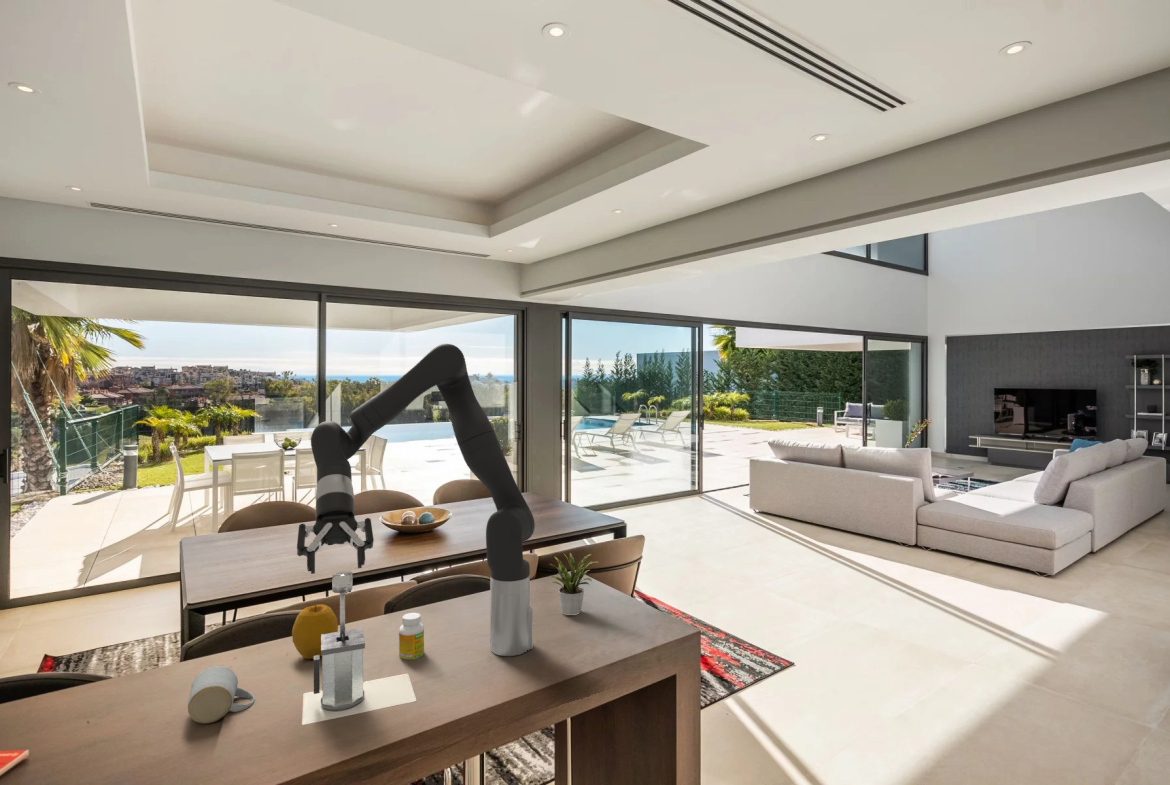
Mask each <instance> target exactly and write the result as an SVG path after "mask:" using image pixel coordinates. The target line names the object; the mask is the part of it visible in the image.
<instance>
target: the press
mask: <svg viewBox="0 0 1170 785" xmlns="http://www.w3.org/2000/svg"><path fill="white" fill-rule="evenodd" d="M364 635H365V634H364V630H363V628H362V627H361V628H355V629H348V630H345V641H340V631H338V632H334V633H328V634H321V656H320V657H321V664H322V665H321V669H322V670H321V672H322V675H321V676H322V678H321V679H322V680H321V683H322V686H321V688H322V689H321V688H320V685H321V684H320V657H319V655H316V656H314V658H313V691H314V694H317V693H320V690H322V698H321V707H322V708H323V709H324V710H327V711H344V710H348V709H351V708H353V707H355V706H357V705H359V704H360V703H361V702H362V701H363V700H364V690H363V682H364V649H366V641H365V636H364Z"/></svg>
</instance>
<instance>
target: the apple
mask: <svg viewBox="0 0 1170 785" xmlns="http://www.w3.org/2000/svg"><path fill="white" fill-rule="evenodd" d="M334 632H339V623H338V618H337V616H336V613H335V612H334V610H333V609H332V607H330V606H328V605H326V604H323V603H321V604H320V603H319V604H315V605H311V606H310V605H309V606H307V607H304V608H303V609H301V611H299V614H298V615H297V616H296V618H295V621H294V623H293V626H292V630H291V636H292V643H293V644H294V647H295V649H296V650H297V652H298V653H299V654H300V656H301V657H302V658H303V659H305V660H311V659H312V660H314V656H316V655H319V658H320V657H322V656H321V634H328V633H334Z"/></svg>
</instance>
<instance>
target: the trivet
mask: <svg viewBox="0 0 1170 785" xmlns="http://www.w3.org/2000/svg"><path fill="white" fill-rule="evenodd" d="M363 690H364V700H363V701H362V702H361V703H360V704H359V705H357V706H355V707H353V708H351V709H348V710H344V711H327V710H324V709H323V708H322V707H321V698H322V689H320V693H317V694H314V690H313V691H309V692H304V693H303V694H302V719H301V725H302V726H305V725H309V724H311V725H312V724H315V723H319V722H325V721H330V720H333V719H339V718H343V717H348V716H352V715H353V716H354V715H358V714H361V713H366V712H367V713H368V712H372V711H376V710H381V709H386V708H391V707H395V706H401V705H405V704H410V703H414V702H417V698H416V693H415V691H414V688H413V685H412V682H411V679H410V676H409V673H408V672H407V673H403V674H398V675H391V676H388V677H381V678H377V679H371V680H366V681H363Z"/></svg>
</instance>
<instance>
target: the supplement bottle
mask: <svg viewBox="0 0 1170 785" xmlns="http://www.w3.org/2000/svg"><path fill="white" fill-rule="evenodd" d="M421 617H422V615H421V614H420V613H418V612H409V613H405V614H404V615H403V616H402V620H401V623H402V625H400V627H399V630H398V631H399V632H398V645H399V646H398V649H399V651H398V657H399V658H400V659H401V660H405V661H409V660H416V659H419V658H421V657H422V656H423V655H424V654H425V628H424V624H423V623H422V622H421V620H422V618H421Z"/></svg>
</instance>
